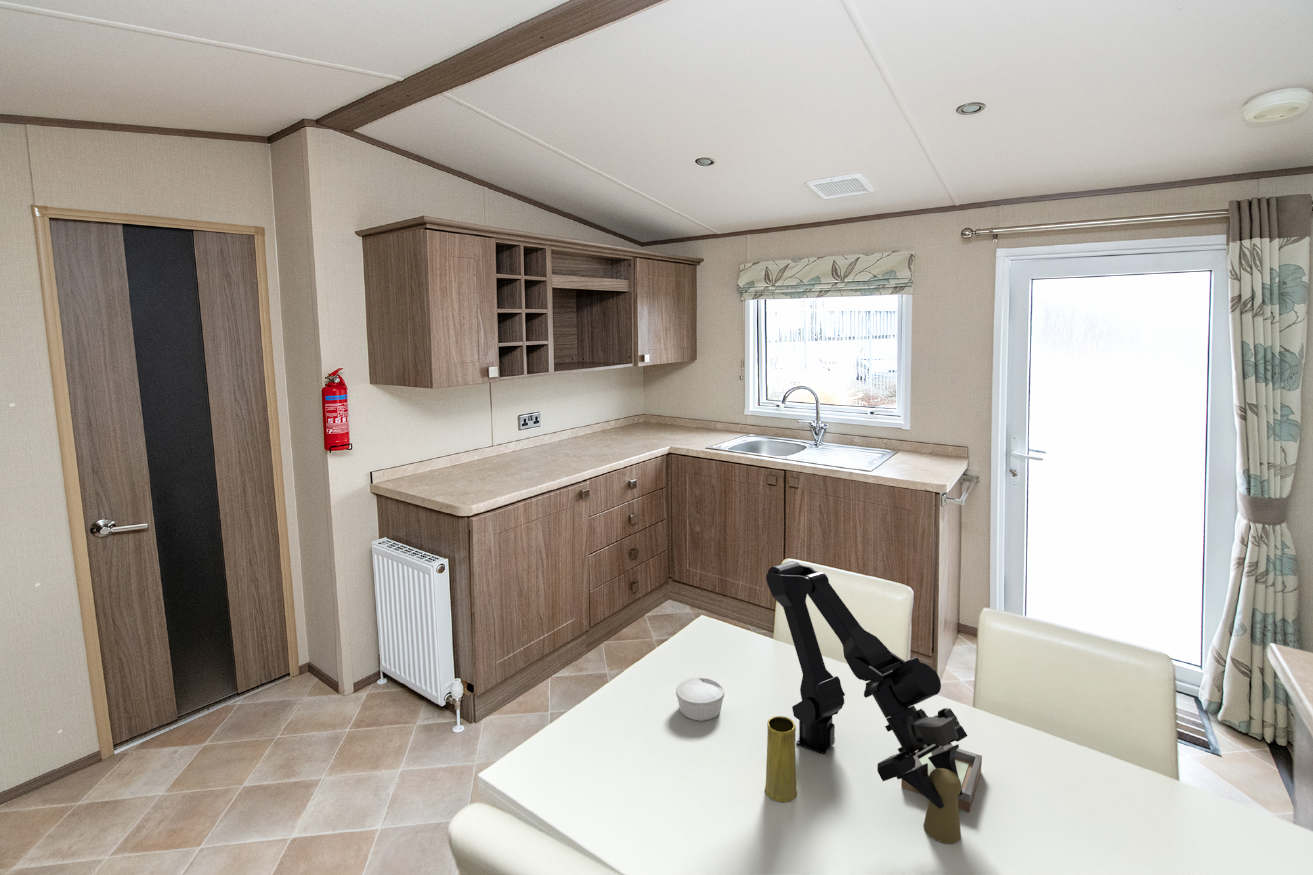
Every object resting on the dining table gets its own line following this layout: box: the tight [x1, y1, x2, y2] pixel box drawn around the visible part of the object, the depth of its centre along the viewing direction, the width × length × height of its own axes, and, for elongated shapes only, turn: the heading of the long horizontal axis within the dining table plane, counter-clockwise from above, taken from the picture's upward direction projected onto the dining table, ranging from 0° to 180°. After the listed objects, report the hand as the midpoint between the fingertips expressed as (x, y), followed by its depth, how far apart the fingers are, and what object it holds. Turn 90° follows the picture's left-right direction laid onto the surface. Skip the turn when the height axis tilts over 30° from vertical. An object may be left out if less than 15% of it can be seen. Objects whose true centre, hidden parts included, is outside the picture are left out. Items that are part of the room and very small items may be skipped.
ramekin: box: [675, 677, 725, 722], centre depth 152 cm, size 11×11×5 cm
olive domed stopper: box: [923, 768, 962, 844], centre depth 113 cm, size 6×6×11 cm
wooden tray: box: [900, 744, 983, 813], centre depth 126 cm, size 12×13×4 cm
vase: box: [764, 715, 798, 803], centre depth 124 cm, size 6×6×14 cm
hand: (951, 801), depth 112 cm, fingers closed on olive domed stopper, 5 cm apart
